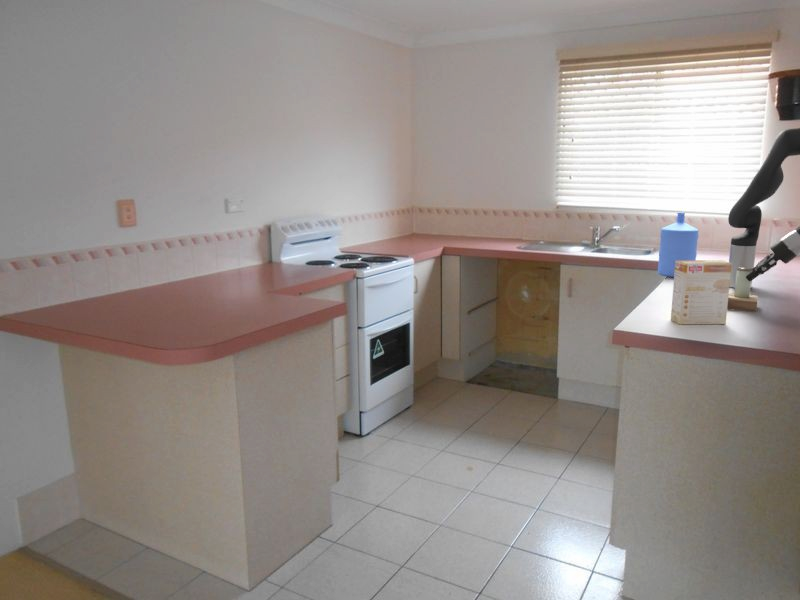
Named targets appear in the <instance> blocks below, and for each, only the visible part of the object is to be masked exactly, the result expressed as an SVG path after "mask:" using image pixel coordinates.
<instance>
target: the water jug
mask: <svg viewBox="0 0 800 600" xmlns="http://www.w3.org/2000/svg"><path fill="white" fill-rule="evenodd" d="M676 214H677V216H676V221H675V222H673V223H672V224H669V225H667V226H664V227H662V228H661V230H660V236H659V237H660V243H659V251H658V264H657V265H658V267H657V274H658V275H659V276H662V277H668V278H674V274H675V262H676V261H687V260H696V258H697V249H698V240H699V230H698V229H697V228H696V227H694V226H692V225H690V224H688V223H686V222H685V217H686V216H685V214H686V213H685V212H677V213H676Z"/></svg>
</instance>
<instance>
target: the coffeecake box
mask: <svg viewBox="0 0 800 600" xmlns="http://www.w3.org/2000/svg"><path fill="white" fill-rule="evenodd" d="M731 265H732V263H729V261H725V260H723V259H713V260H711V259H710V260H709V259H708V260H702V259H701V260H699V259H698V260H687V261H676V262H675V274H674V277H673V287H672V288H673V290H672V299H671V310H670V311H671V312H670V313H671V314H670V321H672V320H673V321H672V322H674V323H676V324H678V325H726V323H727V315H728V309H727V306H728V296H729V293H730V287H729V286H730V276H731Z"/></svg>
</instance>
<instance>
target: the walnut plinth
mask: <svg viewBox="0 0 800 600" xmlns="http://www.w3.org/2000/svg"><path fill="white" fill-rule="evenodd" d="M757 305H758V295H755V294H750V297H749V298H741V297H735V296H734V292H733V293H732V292H729V296H728V306H727V310H731V309H734V310H733V311H741V310H743V311H744V312H752V313H755V312H757V307H758V306H757ZM743 311H742V312H743Z"/></svg>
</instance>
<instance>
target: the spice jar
mask: <svg viewBox="0 0 800 600" xmlns="http://www.w3.org/2000/svg"><path fill="white" fill-rule="evenodd" d="M752 271H753V268H748V267H737V273H736V282H735V288H734V292H733V293H734V296H735V297H741V298H749V297H750V295H751V288H752V287H751V281H748V280H747V279H746V276H747V275H748V274H750V273H751V272H752Z"/></svg>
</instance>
